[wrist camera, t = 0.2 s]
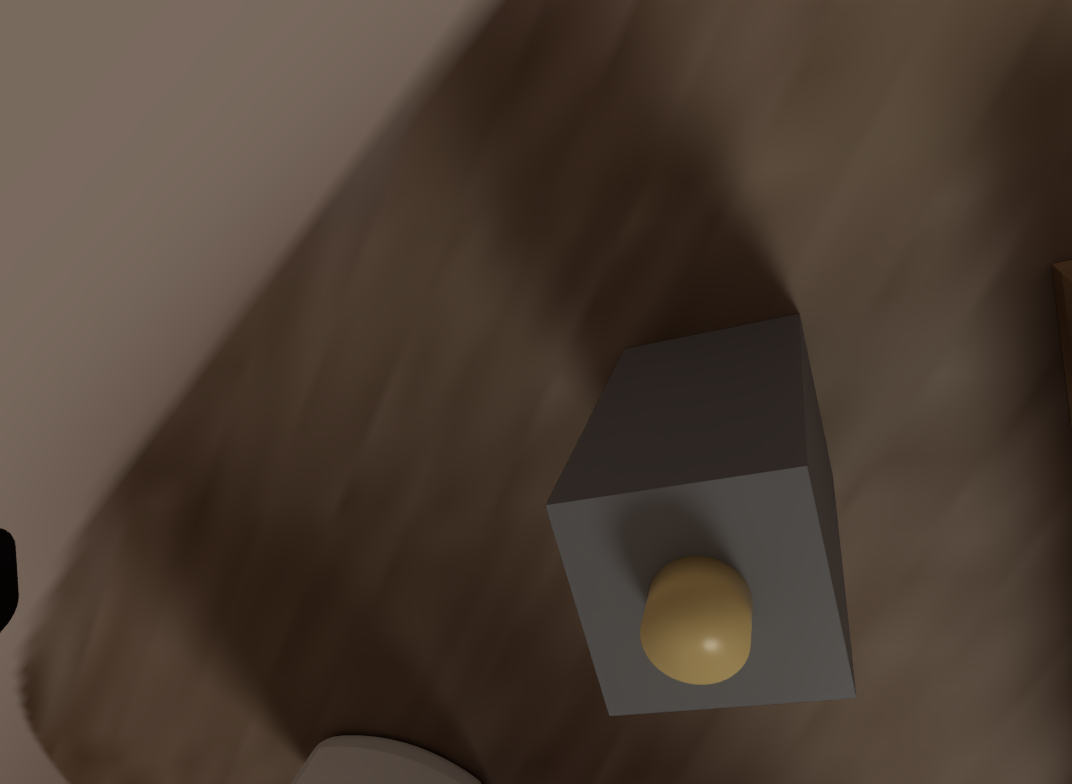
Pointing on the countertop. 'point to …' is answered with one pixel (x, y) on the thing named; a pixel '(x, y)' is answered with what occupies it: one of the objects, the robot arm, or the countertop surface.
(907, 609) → the countertop surface
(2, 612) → the robot arm
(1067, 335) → the walnut box
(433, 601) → the countertop surface
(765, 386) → the grey box with knob
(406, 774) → the eye dropper bottle
